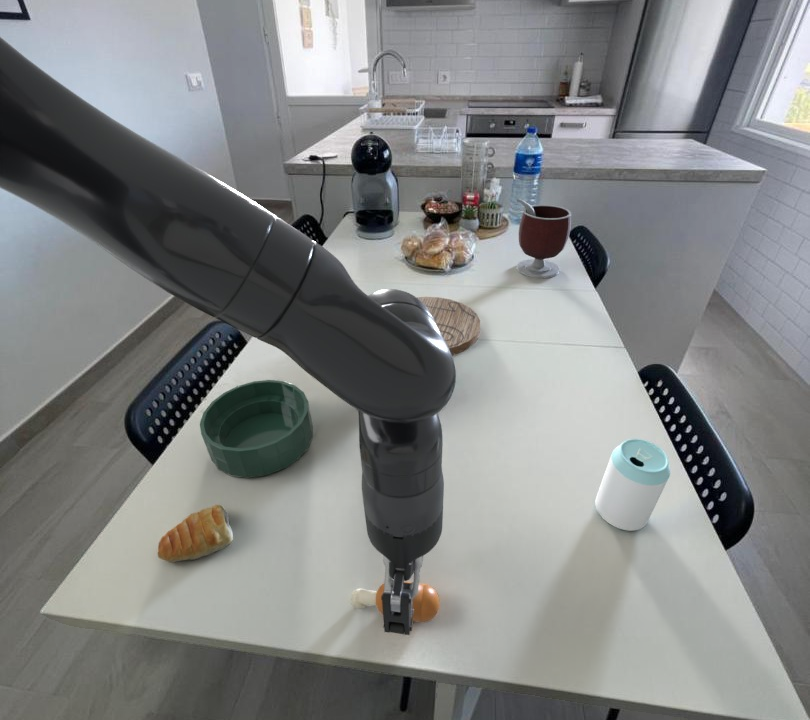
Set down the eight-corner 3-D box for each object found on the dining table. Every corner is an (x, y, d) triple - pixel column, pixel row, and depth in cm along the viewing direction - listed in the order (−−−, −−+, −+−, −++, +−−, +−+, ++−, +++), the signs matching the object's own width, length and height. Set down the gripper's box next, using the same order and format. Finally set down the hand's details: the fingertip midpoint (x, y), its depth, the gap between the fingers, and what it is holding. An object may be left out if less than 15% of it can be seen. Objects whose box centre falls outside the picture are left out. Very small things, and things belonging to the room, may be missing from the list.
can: (650, 538, 61) (680, 480, 54) (595, 527, 62) (617, 469, 56) (642, 497, 66) (668, 440, 59) (592, 487, 68) (612, 430, 61)
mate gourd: (563, 263, 136) (577, 196, 125) (559, 282, 126) (573, 210, 114) (512, 257, 141) (521, 191, 130) (504, 274, 131) (512, 205, 119)
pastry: (164, 579, 57) (154, 562, 55) (158, 539, 62) (148, 522, 60) (238, 543, 61) (231, 527, 59) (226, 508, 66) (219, 492, 64)
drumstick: (348, 619, 53) (344, 602, 51) (355, 585, 56) (352, 568, 54) (438, 630, 52) (438, 614, 50) (440, 596, 55) (441, 579, 53)
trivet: (392, 298, 120) (392, 292, 119) (486, 309, 114) (487, 302, 113) (360, 349, 100) (359, 341, 99) (471, 365, 94) (471, 357, 93)
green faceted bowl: (241, 498, 68) (231, 469, 64) (194, 440, 78) (182, 412, 74) (332, 439, 77) (328, 411, 74) (279, 395, 87) (273, 368, 84)
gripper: (377, 439, 48) (385, 528, 57) (346, 565, 37) (362, 650, 46) (447, 445, 47) (443, 534, 57) (438, 575, 36) (435, 660, 45)
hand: (407, 586), depth 51 cm, fingers open, 8 cm apart
